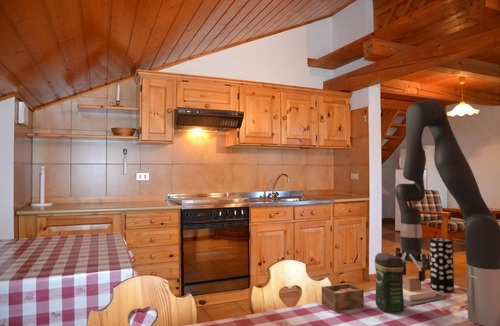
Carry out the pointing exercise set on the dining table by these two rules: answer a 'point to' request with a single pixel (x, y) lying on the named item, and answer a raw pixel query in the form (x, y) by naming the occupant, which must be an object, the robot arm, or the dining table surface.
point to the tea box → (342, 297)
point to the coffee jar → (389, 283)
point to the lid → (415, 289)
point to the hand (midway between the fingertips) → (412, 277)
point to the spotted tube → (441, 265)
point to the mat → (424, 300)
